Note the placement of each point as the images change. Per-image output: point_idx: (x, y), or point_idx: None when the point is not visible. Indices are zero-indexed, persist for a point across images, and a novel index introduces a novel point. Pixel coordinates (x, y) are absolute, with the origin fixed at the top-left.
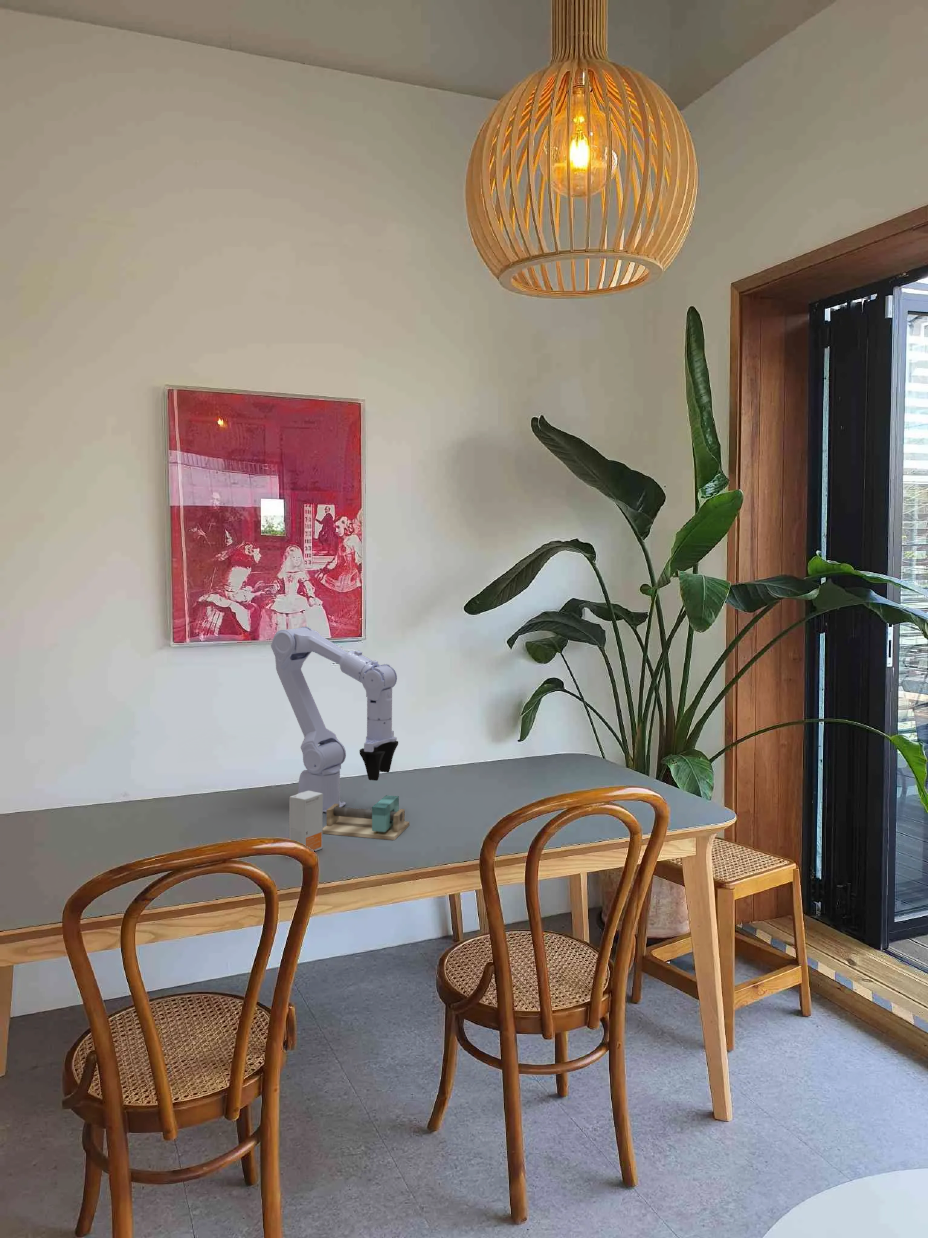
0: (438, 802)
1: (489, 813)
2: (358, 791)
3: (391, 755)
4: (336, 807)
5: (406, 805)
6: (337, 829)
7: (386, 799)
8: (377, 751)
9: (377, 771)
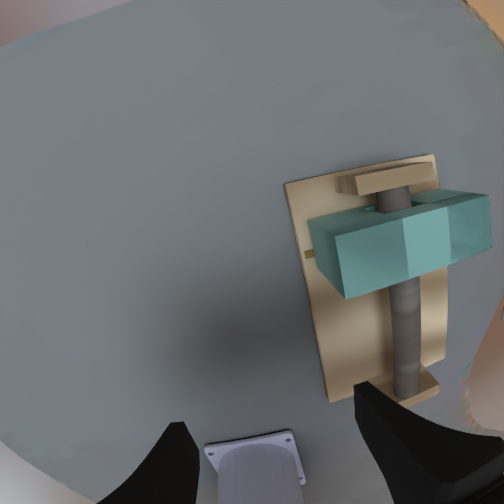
0: (23, 243)
1: (48, 50)
2: (101, 456)
3: (155, 488)
4: (415, 391)
5: (97, 314)
6: (435, 330)
7: (404, 257)
8: (462, 500)
9: (399, 406)
